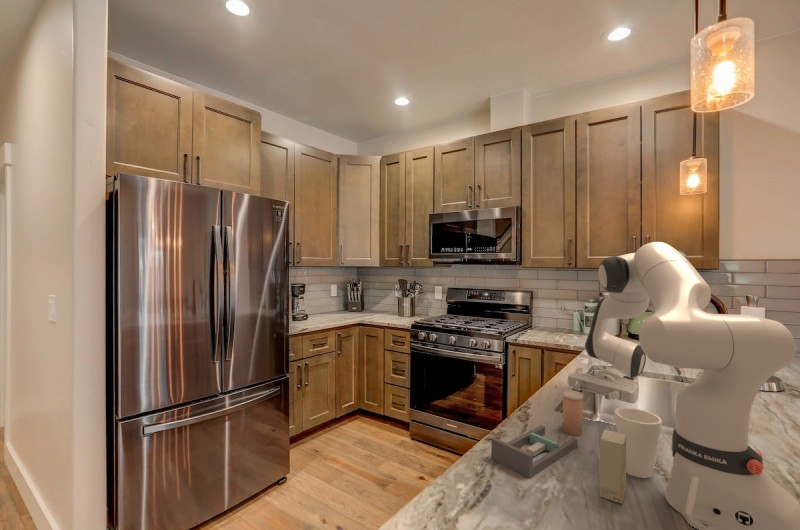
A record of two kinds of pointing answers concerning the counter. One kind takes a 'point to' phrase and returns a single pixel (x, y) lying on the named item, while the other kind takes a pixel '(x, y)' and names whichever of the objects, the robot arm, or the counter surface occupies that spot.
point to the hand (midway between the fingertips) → (591, 392)
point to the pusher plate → (540, 444)
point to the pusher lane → (527, 454)
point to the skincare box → (612, 466)
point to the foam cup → (639, 439)
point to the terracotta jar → (572, 412)
